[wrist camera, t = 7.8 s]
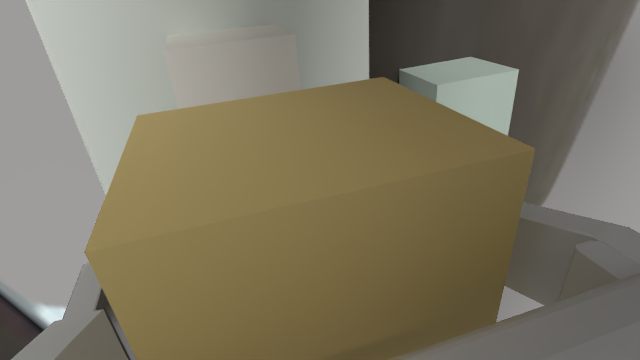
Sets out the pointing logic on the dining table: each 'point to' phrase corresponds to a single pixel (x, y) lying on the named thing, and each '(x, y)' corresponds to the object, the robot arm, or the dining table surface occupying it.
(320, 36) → the build board
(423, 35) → the dining table surface
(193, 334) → the ochre brick
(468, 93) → the sage brick
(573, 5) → the dining table surface
